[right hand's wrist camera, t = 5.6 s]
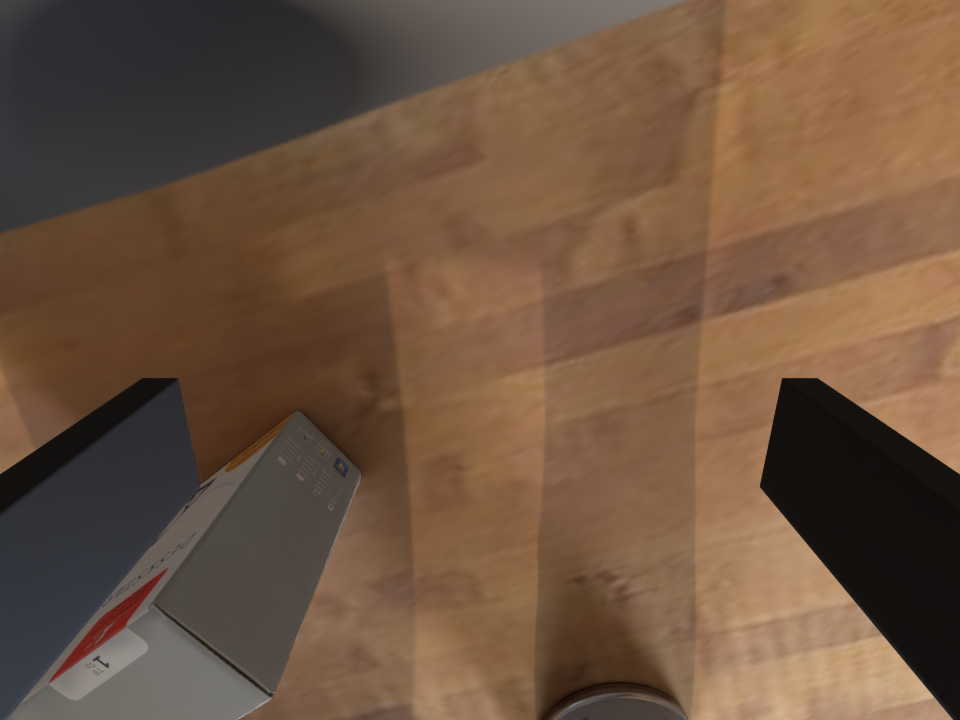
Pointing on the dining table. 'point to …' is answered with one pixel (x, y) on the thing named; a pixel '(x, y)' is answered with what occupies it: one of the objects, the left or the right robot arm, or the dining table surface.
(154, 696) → the hard drive box
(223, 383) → the dining table surface
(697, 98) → the dining table surface
